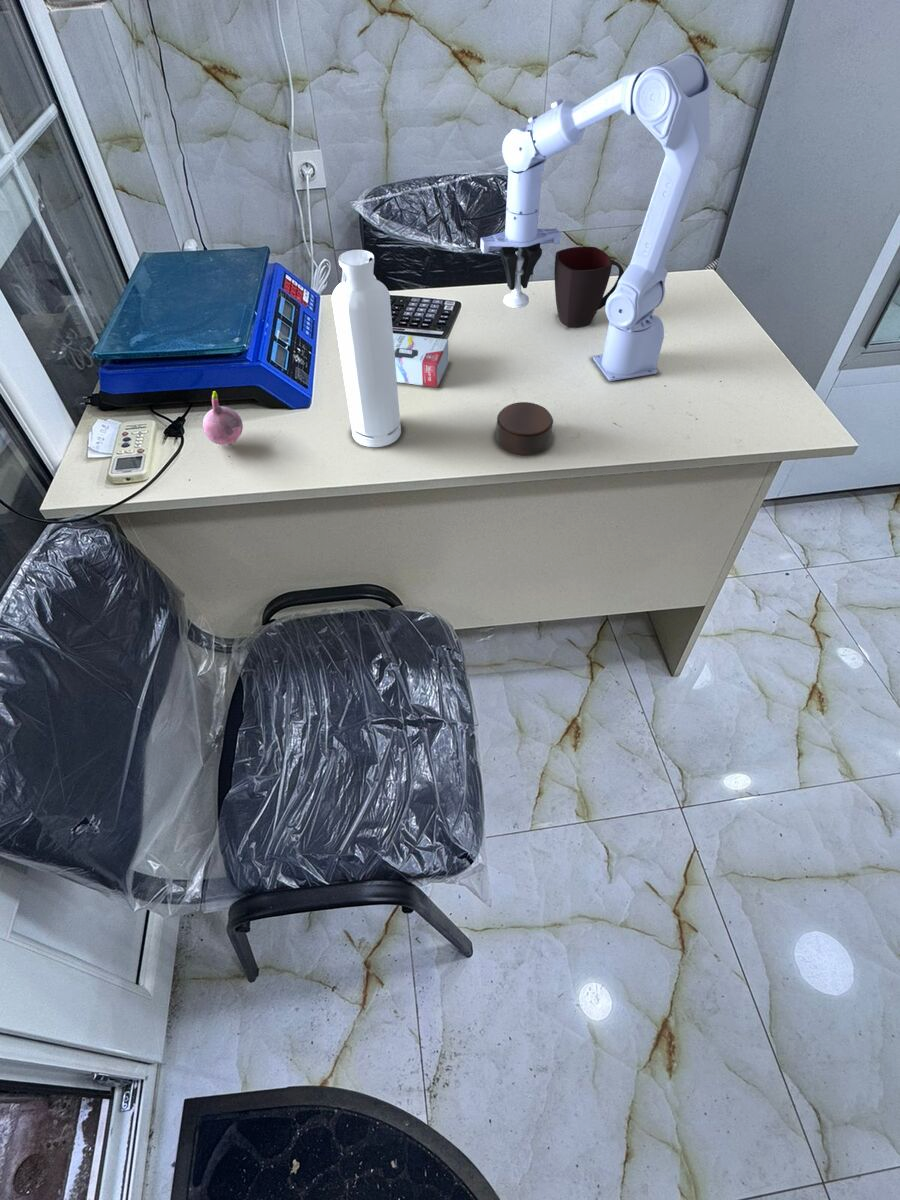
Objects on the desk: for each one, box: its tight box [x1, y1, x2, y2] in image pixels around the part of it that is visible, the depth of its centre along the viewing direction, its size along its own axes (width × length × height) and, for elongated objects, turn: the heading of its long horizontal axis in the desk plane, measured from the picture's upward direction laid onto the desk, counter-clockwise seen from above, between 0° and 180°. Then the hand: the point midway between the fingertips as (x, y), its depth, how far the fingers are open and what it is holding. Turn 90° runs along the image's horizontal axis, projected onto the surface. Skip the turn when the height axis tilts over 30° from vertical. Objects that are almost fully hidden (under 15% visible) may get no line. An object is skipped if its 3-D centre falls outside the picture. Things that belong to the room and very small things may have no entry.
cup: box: [554, 246, 625, 329], centre depth 124 cm, size 10×14×12 cm
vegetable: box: [202, 390, 244, 446], centre depth 101 cm, size 6×6×10 cm
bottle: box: [331, 249, 402, 448], centre depth 96 cm, size 8×8×28 cm
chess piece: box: [503, 247, 530, 309], centre depth 121 cm, size 5×5×10 cm
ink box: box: [393, 332, 449, 388], centre depth 116 cm, size 9×5×12 cm
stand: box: [495, 401, 554, 456], centre depth 104 cm, size 9×9×4 cm
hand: (517, 286), depth 122 cm, fingers closed on chess piece
